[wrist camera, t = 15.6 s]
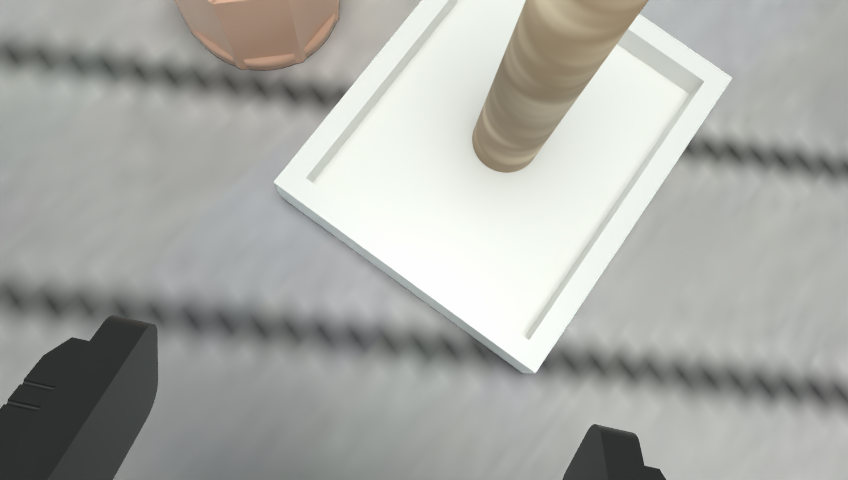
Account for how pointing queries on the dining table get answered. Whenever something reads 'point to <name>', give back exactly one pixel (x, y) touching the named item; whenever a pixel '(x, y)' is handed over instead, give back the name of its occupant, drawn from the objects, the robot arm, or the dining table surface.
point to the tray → (491, 190)
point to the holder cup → (261, 29)
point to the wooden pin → (545, 74)
